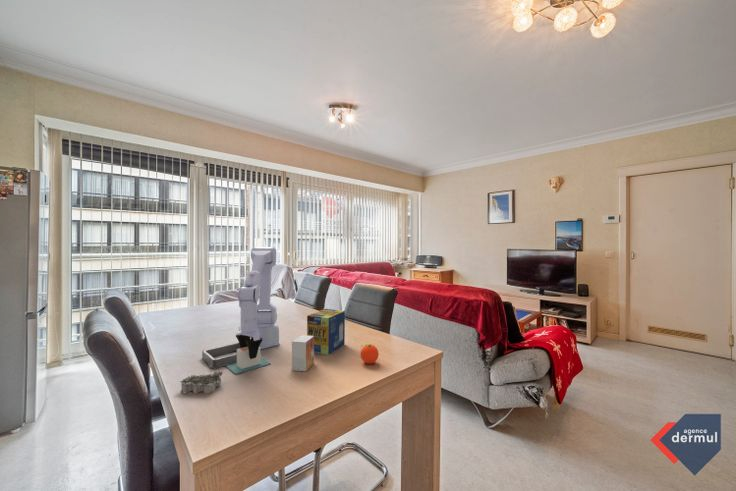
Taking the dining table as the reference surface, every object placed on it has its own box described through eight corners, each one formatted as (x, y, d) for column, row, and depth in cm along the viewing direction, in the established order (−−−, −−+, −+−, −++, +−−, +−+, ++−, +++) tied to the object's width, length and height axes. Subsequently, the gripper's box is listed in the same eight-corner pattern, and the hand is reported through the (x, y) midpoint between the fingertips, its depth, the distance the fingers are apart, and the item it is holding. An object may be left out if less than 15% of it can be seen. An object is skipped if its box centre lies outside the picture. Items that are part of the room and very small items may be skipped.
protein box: (306, 352, 123) (306, 315, 123) (325, 341, 137) (325, 308, 137) (328, 356, 119) (328, 317, 119) (345, 344, 134) (345, 310, 134)
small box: (305, 372, 104) (306, 342, 104) (291, 370, 105) (291, 341, 105) (314, 363, 112) (314, 335, 112) (300, 362, 113) (300, 334, 113)
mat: (260, 357, 117) (260, 356, 117) (270, 364, 111) (270, 363, 111) (226, 367, 108) (226, 365, 108) (235, 374, 102) (235, 373, 102)
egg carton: (224, 384, 96) (224, 371, 96) (209, 395, 88) (209, 382, 88) (193, 381, 97) (194, 369, 97) (176, 393, 89) (176, 379, 89)
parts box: (236, 365, 109) (236, 348, 109) (255, 360, 114) (255, 344, 114) (241, 369, 106) (241, 351, 106) (260, 363, 110) (260, 347, 110)
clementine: (354, 363, 112) (354, 344, 112) (365, 357, 118) (365, 339, 118) (371, 368, 107) (371, 348, 107) (382, 362, 113) (382, 343, 113)
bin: (239, 349, 127) (239, 342, 127) (253, 357, 117) (253, 350, 117) (202, 358, 117) (202, 350, 117) (213, 368, 107) (213, 360, 107)
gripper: (230, 317, 112) (230, 352, 112) (245, 324, 102) (245, 363, 102) (249, 314, 117) (249, 348, 117) (265, 320, 107) (265, 358, 107)
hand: (248, 355), depth 110 cm, fingers open, 7 cm apart
